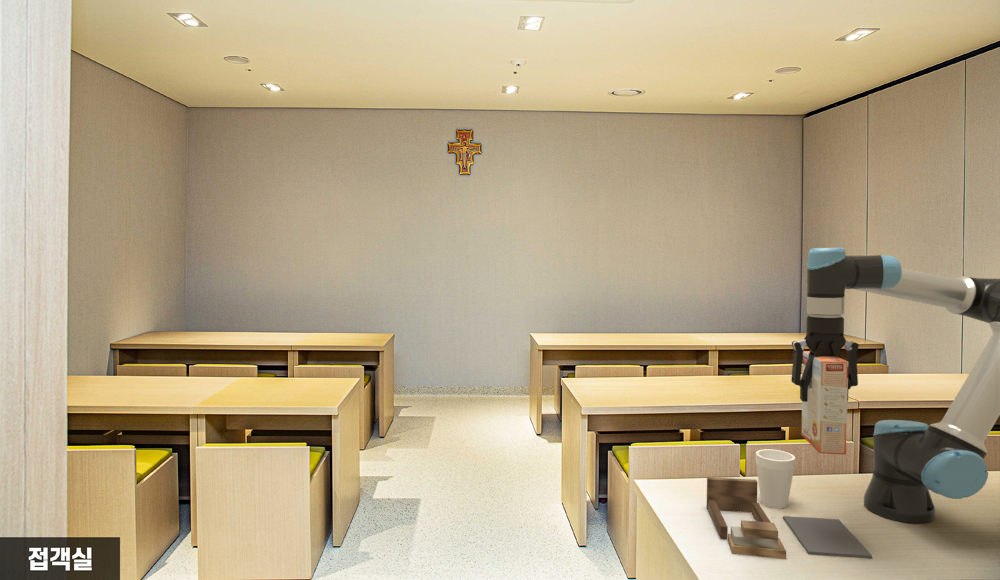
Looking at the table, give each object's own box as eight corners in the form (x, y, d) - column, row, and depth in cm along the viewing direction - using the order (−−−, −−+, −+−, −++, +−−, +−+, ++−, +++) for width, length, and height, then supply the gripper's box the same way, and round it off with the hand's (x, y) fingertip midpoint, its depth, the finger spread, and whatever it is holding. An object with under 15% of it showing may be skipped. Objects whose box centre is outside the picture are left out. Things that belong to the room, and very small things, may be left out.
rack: (755, 510, 155) (755, 479, 154) (775, 542, 138) (776, 508, 137) (706, 507, 157) (707, 477, 156) (720, 538, 139) (721, 505, 139)
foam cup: (793, 500, 161) (795, 452, 160) (794, 513, 153) (795, 463, 152) (755, 494, 165) (756, 447, 164) (753, 507, 157) (754, 458, 156)
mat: (838, 521, 148) (838, 519, 148) (872, 558, 130) (872, 555, 130) (782, 518, 150) (782, 515, 150) (808, 554, 132) (808, 551, 132)
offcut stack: (779, 546, 136) (780, 521, 136) (785, 560, 130) (786, 533, 130) (727, 542, 138) (728, 516, 138) (731, 554, 133) (732, 528, 132)
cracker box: (848, 455, 132) (849, 360, 130) (818, 454, 133) (819, 360, 132) (827, 436, 145) (828, 350, 144) (800, 435, 147) (801, 349, 145)
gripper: (863, 313, 139) (861, 412, 141) (775, 313, 143) (774, 410, 144) (878, 317, 132) (876, 421, 134) (785, 317, 135) (784, 419, 137)
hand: (823, 415), depth 139 cm, fingers closed on cracker box, 6 cm apart
